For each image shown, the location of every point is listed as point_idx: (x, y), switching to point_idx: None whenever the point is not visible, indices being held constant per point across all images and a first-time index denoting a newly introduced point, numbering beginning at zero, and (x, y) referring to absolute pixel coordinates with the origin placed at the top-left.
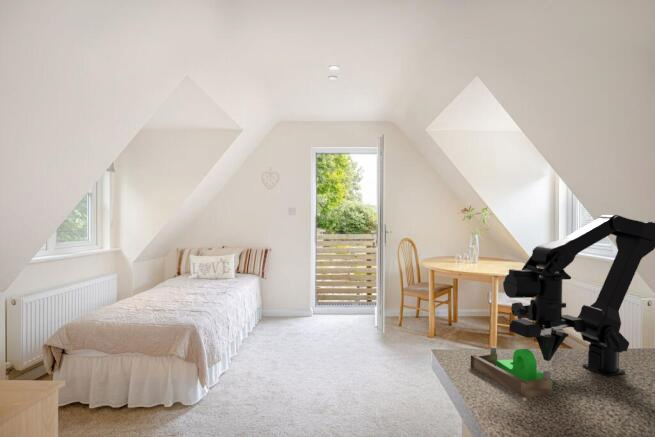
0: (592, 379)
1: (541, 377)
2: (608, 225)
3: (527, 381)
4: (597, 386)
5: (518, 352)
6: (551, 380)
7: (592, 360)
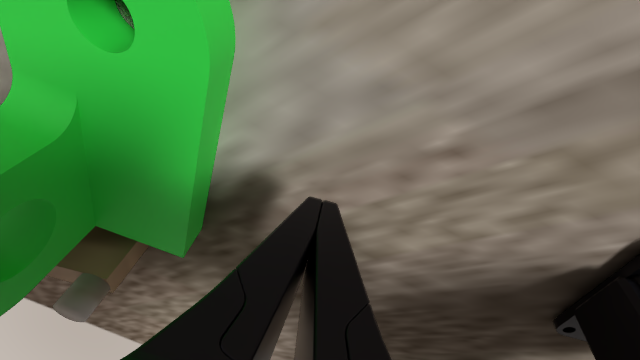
0: (454, 292)
1: (144, 226)
2: None
3: None
4: (385, 311)
5: None
6: (113, 291)
7: (621, 347)
